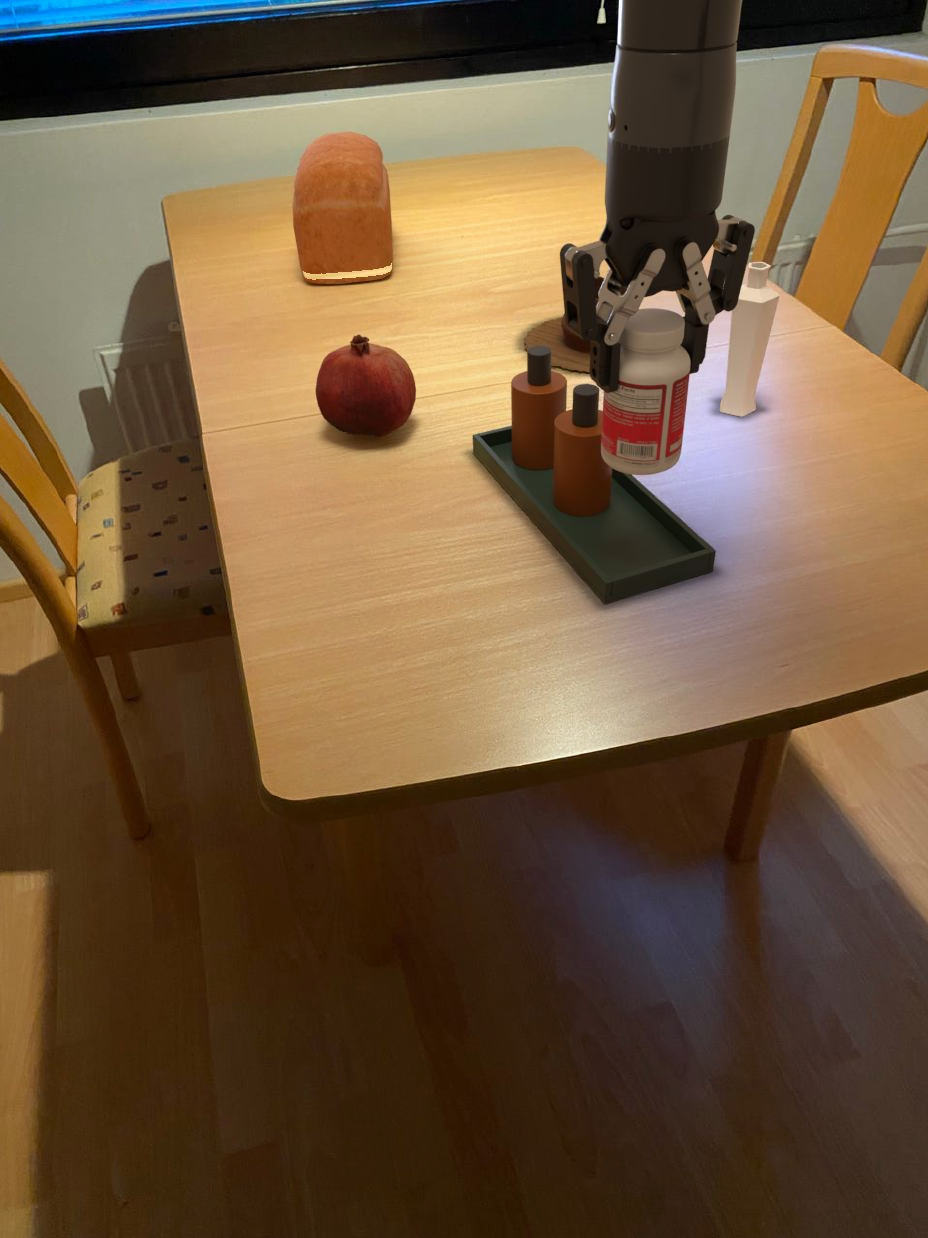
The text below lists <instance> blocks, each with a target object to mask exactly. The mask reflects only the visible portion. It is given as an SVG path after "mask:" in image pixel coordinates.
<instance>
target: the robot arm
mask: <svg viewBox="0 0 928 1238" xmlns="http://www.w3.org/2000/svg"><path fill="white" fill-rule="evenodd" d="M742 6H743V0H618V13H617V14H618V15H617V33H616V34H617V35H616V47H615V55H614V63H613V68H612V75H611V80H610V89H609V102H608V103H609V104H608V115H607V140H606V141H607V142H606V162H605V163H606V164H605V184H604V206H605V213H606V220H605V225H604V227H603V230H602V232H601V234H600V236H599V239H598V240H596V241H593V242H590V243H588V244H584V245H581V246H576V245H575V244H573V243H565V244H564V245H563V246H562V247H561V248H560V251H559V265H560V275H561V287H562V298H563V308H564V309H563V310H564V313H565V323H566V326H567V328H569V329H570V330H571V331H573V332H574V333H575V334H577V335H578V336H579V337H581V338H582V339H583V340H585V341H591V348H590V369H589V372H588V373H589V376H590V379H591V381H592V382H594V383H595V384H596V386H597V387H598V388H599V389H601V390H602V391H603V392H604V391H605V392H606V393H610V392H615V391H617V390H618V380H619V366H620V351H621V344H620V343H619V342H618V340H619V338H620V336H621V334H622V332H623V330H624V328H625V326H626V324H627V322H628V319H629V318H630V317H631V316H633V315H635V314H636V313H637V311H638V309H640V307H641V305H642V303H643V300H644V298H648V297H649V298H650V297H653V296H655V295H657V294H659V293H661V292H672V293H673V292H675V294H676V296H677V299H678V302H679V304H680V307H681V309H682V312H683V313H684V316H682V317H683V318H684V321H685V327H684V338H683V341H682V343H681V346H682V347H683V348H684V349H685V350H686V351H687V353H688V355H689V357H690V362H691V364H690V375H693V374H697V373H698V372H699V370H700V365H702V364H703V362H704V361H705V358H706V354H707V343H708V338H709V337H708V336H709V329H710V324H711V323H712V322H713V321H714V320H715V318H716V316H717V315H718V314H720V313H722V312H723V311H725V312H726V313H727V312H729V313H730V312H732V310H733V309H734V308H735V307H736V305H737V303H738V299H739V295H740V291H741V286H742V285H743V282H744V278H745V273H746V270H747V267H748V263H749V262H748V261H749V257H750V253H751V249H752V245H753V240H754V236H755V232H756V229H755V226H754V225H753V224H752V223H750V222H748V221H746V220H744V219H743V218H740V217H738V216H734V215H732V214H726V215H724V216H723V217H722V218H721V219H718V218H717V214H716V210H717V209H718V208H719V207H720V206H721V203H722V200H723V192H724V185H725V178H726V170H727V161H728V154H729V146H730V139H731V138H730V137H731V129H732V120H733V112H734V105H735V97H736V86H737V49H738V46H737V45H738V43H737V41H738V39H739V38H738V37H739V31H740V23H741V14H742ZM712 248H713V252H712V256H711V261H710V265H709V270H708V275H707V273H706V271H705V268H704V264H703V260H704V259H705V257H706V256H707V254H708V253H709V251H710V250H711V249H712ZM604 261H605V263H606V264H607V266H608V270H607V272H606V275H605V276H604V278H605V279H604V281H603V283H602V285H601V288H600V290H599V293H598V296H599V302H598V304H597V306H596V296H595V280H594V279H597V278H598V277H601V272H600V271H601V269H600V268H601V265H602V263H603V262H604ZM621 286H623V287H624V288H625V289H627V291H626V293H625V294H624V295H623V296H622V295H621V294H620V288H621Z"/></svg>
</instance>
